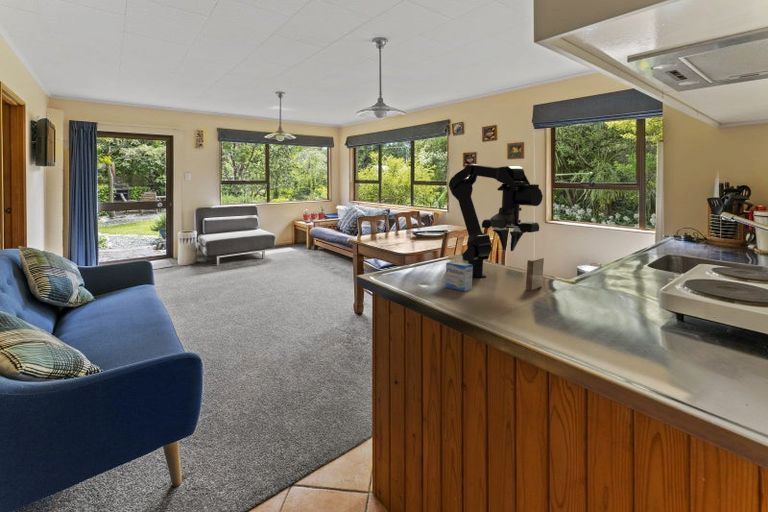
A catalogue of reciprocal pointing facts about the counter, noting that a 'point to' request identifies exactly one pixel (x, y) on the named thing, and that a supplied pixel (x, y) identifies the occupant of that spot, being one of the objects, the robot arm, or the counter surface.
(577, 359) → the counter surface
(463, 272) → the medicine box
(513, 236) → the robot arm
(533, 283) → the walnut tile
